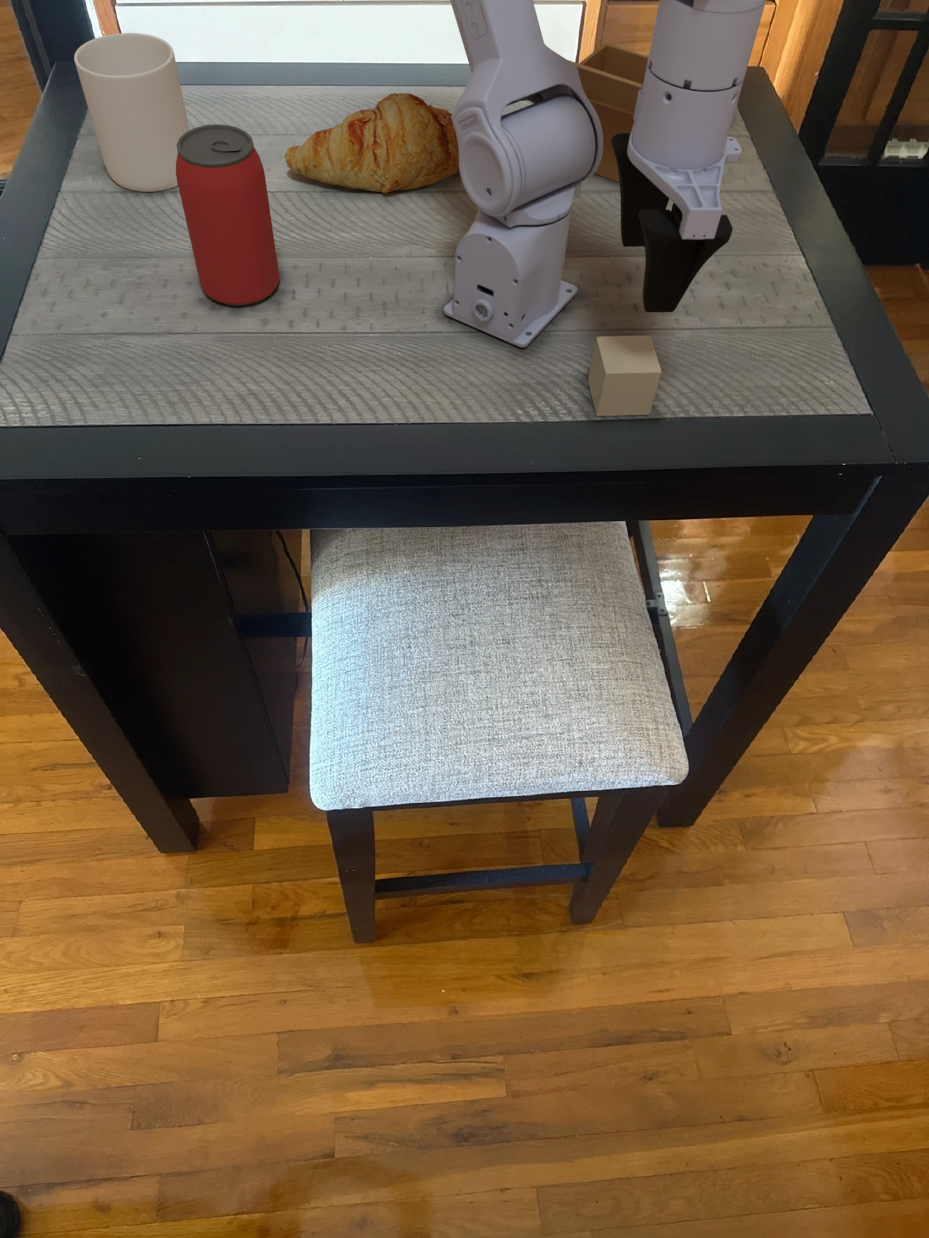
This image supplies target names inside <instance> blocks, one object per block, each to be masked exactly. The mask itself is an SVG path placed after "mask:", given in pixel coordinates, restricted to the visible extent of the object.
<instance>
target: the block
mask: <svg viewBox="0 0 929 1238" xmlns="http://www.w3.org/2000/svg"><path fill="white" fill-rule="evenodd" d="M662 373H663V371H662V368H661V364H660V362H659V359H658V356H657V353H656V349H655V346H654V343H653V339H652V336H651V335H603V336H602V335H599V336H596V337H595V341H594V346H593V352H592V356H591V362H590V367H589V372H588V376H587V382H588V387H589V391H590V395H591V399H592V403H593V408H594V412H595V415H596V417H618V416H622V417H624V416H650V415H651V411H652V407H653V404H654V401H655V399H656V398H655V397H656V394H657V390H658V386H659V383H660V379H661V377H662Z"/></svg>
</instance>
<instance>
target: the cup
mask: <svg viewBox="0 0 929 1238" xmlns="http://www.w3.org/2000/svg"><path fill="white" fill-rule="evenodd" d="M73 60H74V61H73V62H74V65H75V67H76V71H77V75H78V78H79V81H80V85H81V89H82V91H83V95H84V99H85V103H86V105H87V108H88V112H89V116H90V119H91V123H92V126H93V129H94V133H95V136H96V140H97V143H98V147H99V150H100V153H101V158H102V161H103V163H104V167H105V169H106V172H107V174H108V175H109V177H110V178H111V180H112V181H114V182H115V183H116V184H117V185H119V186H120V187H122V188H124V189H126V190H130V191H135V192H143V193H152V192H154V193H155V192H162V191H167V190H171V189H174V188H176V187H178V183H177V178H176V160H177V154H178V151H177V145H176V144H177V142H178V140H179V138H180V137H181V136H182V135H183V134H185V133H186V132H187V131H189V130H191V129H190V126H189V120H188V115H187V109H186V106H185V101H184V96H183V90H182V86H181V82H180V75H179V72H178V71H179V70H178V66H177V61H176V56H175V52H174V49H173V47H172V46H171V45H170V43H169V42H167V41H166V40H164V39H162V38H160V37H158V36H156V35H155V36H154V35H151V34H146V33H138V32H120V33H112V34H106V35H102V36H99V37H96V38H93V39H91V40H88V41H87V42H85V43H83V44H81V45H80V46H79V47H78V48H77V50H75V53H74V56H73Z"/></svg>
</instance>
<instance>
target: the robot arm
mask: <svg viewBox="0 0 929 1238" xmlns="http://www.w3.org/2000/svg"><path fill="white" fill-rule="evenodd" d="M449 1H450V5H451V9H452V11H453V15H454V18H455V22H456V25H457V28H458V32H459V36H460V39H461V42H462V45H463V47H464V52H465V55H466V58H467V61H468V65H469V68H470V72H471V75H470V78H469V80H468V82H467V84H466V86H465V87H464V89H463V92H462V93H461V95H460V97H459V99H458V101H457V103H456V105H455V106H454V109H453V110H452V112H451V114H452V116H451V119H452V122H453V126H454V129H455V132H456V136H457V142H458V150H459V170H460V172H459V175H460V178H461V182H462V185H463V187H464V190H465V192H466V194H467V195H468V197H469V198H470V200H471V201H472V203H473V204H474V205H475V206H476V207H477V211H476V215H475V217H474V220H473V222H472V224H471V225H470V228H469V229H468V230H467V232H466V233H465V234H464V235H463V236H462V237H461V239H460V240H459V242H458V243H457V246H456V249H455V254H454V270H453V271H454V272H453V295H452V296H453V297H452V299H451V300H450V301H449V302H448V303H447V304H446V305H445V306H444V307H443V314H444V315H445V316H447V317H450V318H451V319H454V320H456V321H459V322H461V323H463V324H466V325H468V326H469V327H472V328H475V329H477V330H479V331H481V332H484V333H486V334H489V335H490V336H492V337H496V338H498V339H499V340H502V341H504V342H506V343H509V344H511V345H514V346H515V347H519V348H526V347H528V346H529V345H530V343H532V342H533V340H534V339H535V338H537V336H538V335H539V334H540V333H541V332H542V331H543V330H544V329H545V328H546V327H547V326H548V324H550V322H551V321H552V320H553V319H554V318H555V317H556V316H557V315H558V314H559V313H560V312H561V311H562V310H563V308H565V306H566V305H567V304H568V303H569V302H570V301H571V300H572V299H573V298H574V297H575V296H576V295H577V293H578V291H579V290H578V289H579V288H578V287H577V286H576V285H574V284H572V283H570V282H567V281H565V280H562V278H563V270H564V264H565V258H566V252H567V245H568V238H569V233H570V226H571V218H572V211H573V204H574V201H575V200H576V199H577V198H579V197H580V196H581V190H582V183H583V181H586V180H588V179H590V178H591V177H592V176H593V175H594V172H595V171H596V170H597V168H598V166H599V164H600V161H601V158H602V154H603V132H602V127H601V123H600V120H599V117H598V115H597V113H596V111H595V109H594V107H593V106H592V104H591V103H590V101H589V100H588V98H587V96H586V94H585V92H584V90H583V88H582V85H581V81H580V77H579V73H578V69H577V67H576V66H575V65H574V64H572V63H571V62H569V61H570V60H569V59H567V58H565V57H564V56H562V55H560V54H559V53H557V52H556V51H554V50H553V49H551V48H550V47H549V46H548V45H546V44H545V41H544V38H543V34H542V30H541V26H540V22H539V19H538V18H539V17H538V15H537V10H536V7H535V3H534V0H449ZM766 2H767V0H658V6H657V11H656V16H655V21H654V26H653V32H652V35H651V36H652V37H651V42H650V47H649V52H648V61H647V66H646V72H645V77H644V82H643V87H642V89H640V90H639V91H638V97H637V102H636V107H635V112H634V118H633V119H634V125H633V128H632V131H631V133H621V134H617V135H615V136H613V137H612V140H611V143H612V146H613V150H614V153H615V157H616V161H617V166H618V173H619V180H620V183H619V192H620V195H619V196H620V235H621V243H622V246H623V248H632V247H633V248H638V247H639V248H641V247H642V248H644V251H645V253H644V254H645V259H644V262H645V264H644V265H645V266H644V274H643V285H642V303H643V309H644V312H645V313H647V314H648V313H673V312H675V310H676V309H677V307H678V306H679V304H680V302H681V301H682V299H683V297H684V296H685V294H686V293H687V291H688V289H689V287H690V285H691V283H692V282H693V280H694V279H695V277H696V276H697V275H698V273H699V271H700V270H701V269H702V268H703V267H704V265H705V264H707V262H708V261H709V259H711V257H712V256H713V255H714V254H715V253H717V252H718V251H719V250H720V249H721V248H722V247H724V246H725V245H726V244H728V243H729V241H730V239H731V236H732V233H733V225H732V223H731V221H730V219H729V216H728V215H727V214H723V210H724V209H723V206H722V204H721V203H722V202H721V199H720V196H721V195H720V194H721V187H722V181H723V175H724V169H725V165H726V164H737V163H738V162H739V161H741V157H742V153H743V148H742V147H741V145H740V143H739V141H738V139H736V138H735V137H733V136H729V135H730V132H731V127H732V124H733V121H734V117H735V113H736V109H737V107H738V103H739V98H740V95H741V91H742V88H743V85H744V80H745V77H746V74H747V71H748V67H749V63H750V60H751V56H752V53H753V49H754V45H755V42H756V38H757V35H758V31H759V27H760V23H761V20H762V16H763V14H764V10H765V6H766ZM568 60H569V61H568ZM523 101H525V102H526V101H527V102H530V103H532V104H528V105H527V106H524V107H520V108H519V109H516V110H514V111H510V112H508V113H506V114H503V112H504V110H505V108H506V107H508V106H511V105H514V104H517V103H519V102H523ZM670 201H671V202H672V205H671V210H670V209H667V208H668V205H669V202H670Z"/></svg>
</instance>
